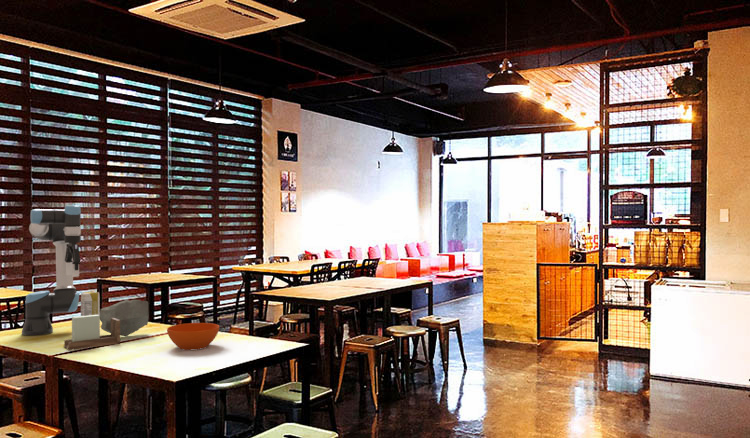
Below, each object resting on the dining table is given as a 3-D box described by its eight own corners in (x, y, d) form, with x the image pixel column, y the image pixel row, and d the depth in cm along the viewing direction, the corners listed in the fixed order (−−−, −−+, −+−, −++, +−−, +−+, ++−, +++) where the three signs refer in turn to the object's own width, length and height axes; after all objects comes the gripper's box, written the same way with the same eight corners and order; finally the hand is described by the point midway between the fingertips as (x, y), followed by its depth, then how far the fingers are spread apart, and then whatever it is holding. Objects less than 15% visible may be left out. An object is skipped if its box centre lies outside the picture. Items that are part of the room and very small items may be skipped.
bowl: (204, 339, 310) (204, 321, 310) (228, 347, 292) (228, 327, 292) (158, 346, 293) (158, 327, 293) (181, 355, 275) (181, 333, 275)
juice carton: (101, 332, 331) (101, 290, 331) (88, 334, 325) (88, 291, 325) (91, 330, 336) (92, 289, 336) (78, 332, 330) (78, 290, 330)
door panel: (71, 344, 292) (72, 317, 292) (97, 341, 300) (97, 314, 300) (74, 346, 289) (74, 318, 289) (99, 342, 297) (99, 315, 297)
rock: (102, 340, 307) (102, 303, 307) (97, 339, 311) (97, 301, 311) (151, 333, 326) (151, 298, 327) (145, 332, 331) (145, 297, 331)
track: (63, 346, 292) (64, 322, 293) (113, 340, 308) (113, 317, 308) (69, 350, 285) (69, 325, 285) (120, 343, 301) (120, 320, 301)
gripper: (58, 234, 310) (58, 274, 310) (71, 235, 292) (70, 277, 292) (73, 234, 315) (73, 273, 315) (87, 235, 297) (87, 277, 297)
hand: (72, 275), depth 303 cm, fingers open, 13 cm apart
